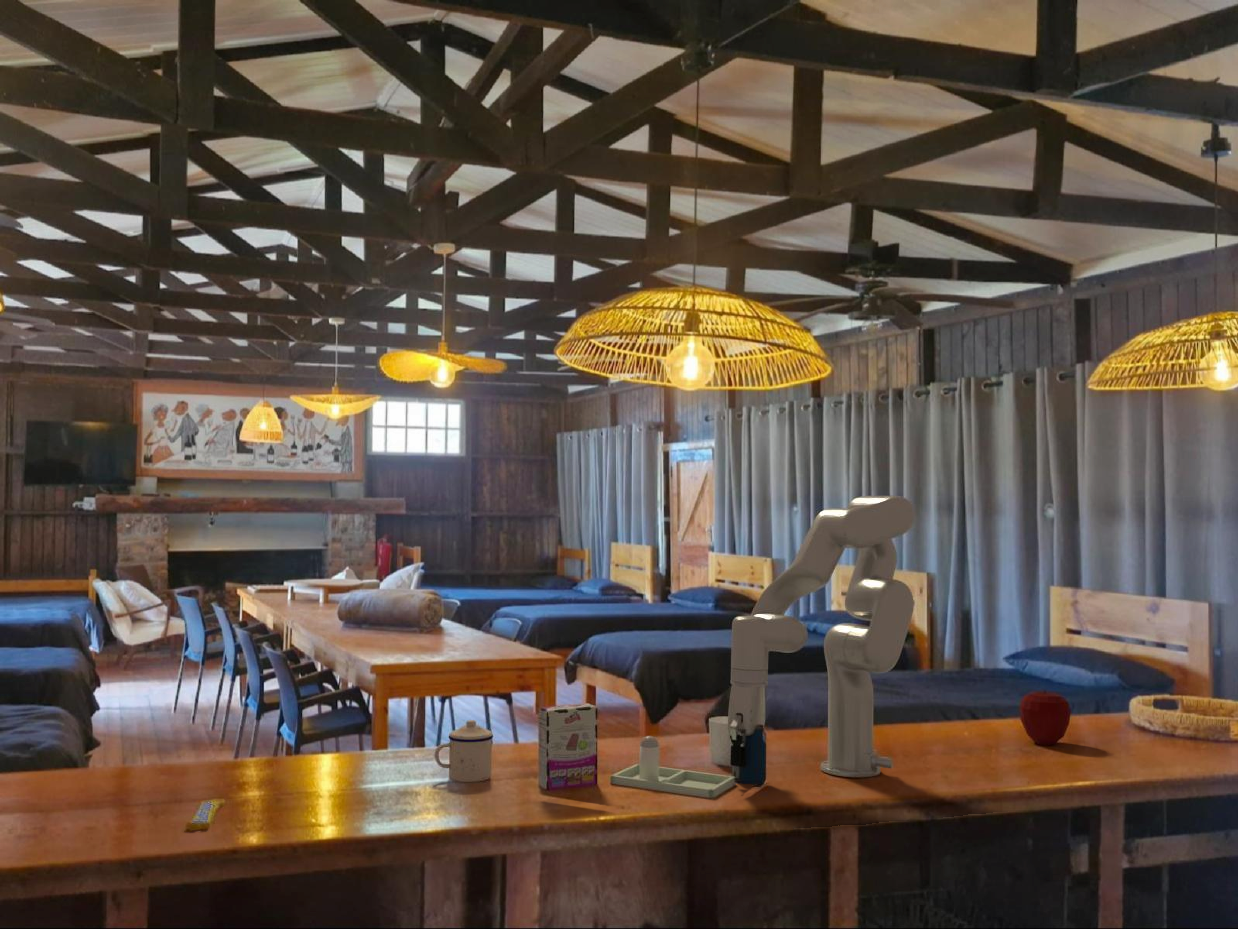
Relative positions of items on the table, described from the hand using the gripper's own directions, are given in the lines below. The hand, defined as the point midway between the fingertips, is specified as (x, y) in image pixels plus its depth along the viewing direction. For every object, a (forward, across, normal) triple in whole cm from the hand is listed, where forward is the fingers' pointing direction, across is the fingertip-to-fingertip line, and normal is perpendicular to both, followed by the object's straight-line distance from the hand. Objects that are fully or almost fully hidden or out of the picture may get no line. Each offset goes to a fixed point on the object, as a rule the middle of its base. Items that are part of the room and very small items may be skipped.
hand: (746, 761), depth 219 cm
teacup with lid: (+6, +24, -53) cm, 58 cm away
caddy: (+5, +10, -12) cm, 16 cm away
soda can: (+5, 0, 0) cm, 5 cm away
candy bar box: (+6, +22, -30) cm, 37 cm away
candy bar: (+7, +70, -76) cm, 104 cm away
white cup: (+5, -14, -10) cm, 17 cm away
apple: (+3, -76, +49) cm, 90 cm away
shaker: (+4, +10, -17) cm, 20 cm away
